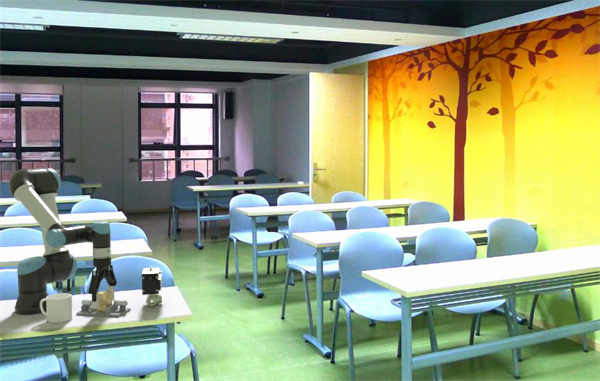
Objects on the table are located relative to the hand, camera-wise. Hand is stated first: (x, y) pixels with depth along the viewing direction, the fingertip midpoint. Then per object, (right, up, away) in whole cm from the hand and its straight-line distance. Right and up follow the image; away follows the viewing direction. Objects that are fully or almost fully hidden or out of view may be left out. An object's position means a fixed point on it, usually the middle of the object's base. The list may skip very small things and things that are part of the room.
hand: (103, 304), depth 261 cm
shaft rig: (0, -4, 0) cm, 4 cm away
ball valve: (+19, -3, +13) cm, 23 cm away
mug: (-16, -5, -11) cm, 20 cm away
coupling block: (0, -3, 0) cm, 3 cm away
